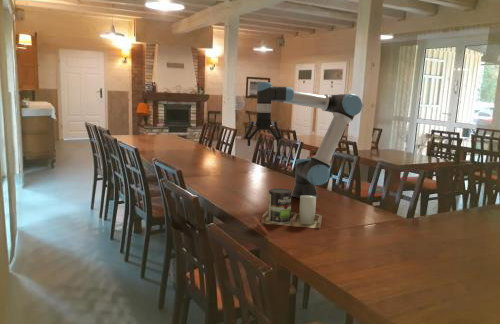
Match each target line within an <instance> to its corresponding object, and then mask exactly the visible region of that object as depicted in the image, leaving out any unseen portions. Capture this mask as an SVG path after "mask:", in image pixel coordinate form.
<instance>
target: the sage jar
mask: <svg viewBox="0 0 500 324" xmlns="http://www.w3.org/2000/svg"><path fill="white" fill-rule="evenodd" d="M316 203H317V198H316V196H311V195H301V196H300V199H299V212H298V213H299V223H300V224H305V225H313V224H315V214H316V209H317V208H316Z"/></svg>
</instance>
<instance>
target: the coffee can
mask: <svg viewBox="0 0 500 324" xmlns="http://www.w3.org/2000/svg"><path fill="white" fill-rule="evenodd" d="M292 191H293V190H291V189H288V188H271V189H269V190H268V211H269V220H268V221H269V222H271V223H275V224H274V225H276V224H287V223H290V222H291V212H292Z"/></svg>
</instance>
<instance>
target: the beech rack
mask: <svg viewBox="0 0 500 324" xmlns="http://www.w3.org/2000/svg"><path fill="white" fill-rule="evenodd" d="M260 219H261V221H260V226H262V227H264V224H266V225H278V226H289V227H290V226H291V227H300V228H313V229H321V226H322V225H321V224H322V222H323V221H322V219H323V215H322V214H316V213H315V224H313V225H305V224H300V223H299V212H292V211H291V222H290V223H287V224H275V223H271V222H269V221H268V220H269V209H268V210H266V211H265V212H264V213H263V215H262V216H261V218H260Z"/></svg>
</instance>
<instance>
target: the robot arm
mask: <svg viewBox="0 0 500 324" xmlns="http://www.w3.org/2000/svg"><path fill="white" fill-rule="evenodd" d="M256 86H257V87H256V120H255V121H254V120H251V121H250V124H249V127H248V128H247V130H246V133H245V134H244V136H243V137H244V139H245V140H247V144H246V145H247V147H248V153H251V154H252V149H253V146H252V145H253V140H252V139H253V137H254V136H255V135H256V134H257V133H258V132H259V130H260V131H263V130H265V131H269V133H270V134H271V136H272V137H273V138H274V140H273V152H274V153H277V147H278V146H279V142H280V140H282V139H283V136H282V134H281V132H280V129H279V127H278V123H277V121H275V120H274V121H271V120H272V119H271V118H272V113H271V112H272V102H277V103H282V104H283V103H284V104H289V105H296V106H300V107H301V106H303V107H309V108H314V109H320V110H322V111H323V112H329V113H332V115H333V118H332V120H331V122H330V123H329V126H328V128H327V130H326V132H325V134H324V136H323V138H322V140H321V143H320V145H319V146H318V149H317V151H316V154H315V155H313V156H311V158H297V159H296V160H295V174H294V175H295V177H294V186H293V189H292V190H291V191H292V193H291V197H292V196H293V197H296V198H295V199H297V198H300V196H301V195H311V196H316V199H317V198H318V192H317V187H316V186H322V185H324V184H325V183H327V182H328V180H329V179H330V175H331V173H330V168H331V159H332V158H333V156H334V153H335V151H336V149H337V147H338V145H339V143H340V140H341V139H342V136H343V135H344V133H345V131H346V128H347V126H348V124H349V123H351V122H353V120H354V118H355V116H357V115H359V114H360V113H361V111H362V109H363V102H362V99H361V98H360V96H359V95H357V94H355V93H343V94H342V93H341V94H326V93H325V94H324V95H322V94H321V95H320V94H317V93H316V94H315V93H308V92H303V91H296V90H294V89H293V87H292V86H291V87H290V86H273V84H272V82H271V81H270V82H268V81H260V82H258V83H257V85H256ZM255 125H256V127H255V128H254V129H253V127H254V126H255ZM271 126H273V128H274V130H275V132H274V131H273V129H272V128H271ZM252 129H253V131H252ZM251 131H252V132H251ZM293 197H292V198H293Z"/></svg>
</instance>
